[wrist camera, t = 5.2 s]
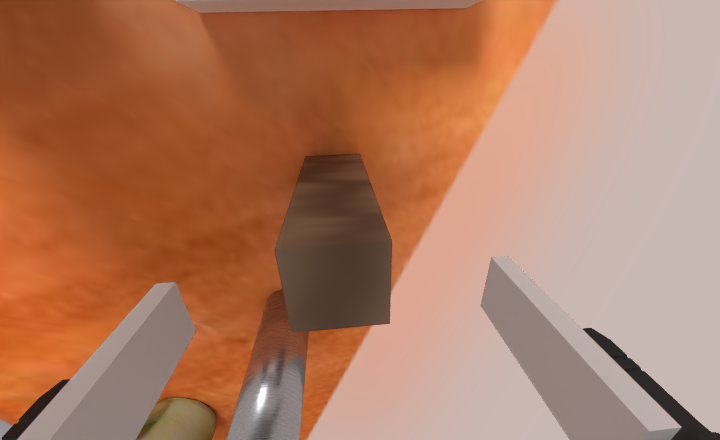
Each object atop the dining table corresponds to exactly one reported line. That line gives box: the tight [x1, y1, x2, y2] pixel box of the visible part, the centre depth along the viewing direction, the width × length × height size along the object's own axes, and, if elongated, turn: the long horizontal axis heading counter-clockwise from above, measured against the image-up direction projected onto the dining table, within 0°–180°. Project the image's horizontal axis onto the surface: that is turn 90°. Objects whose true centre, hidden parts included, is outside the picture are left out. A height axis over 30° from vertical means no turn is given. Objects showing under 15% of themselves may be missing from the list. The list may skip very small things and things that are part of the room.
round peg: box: [227, 290, 309, 440], centre depth 24 cm, size 5×5×14 cm
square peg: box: [275, 154, 392, 333], centre depth 18 cm, size 4×4×14 cm
